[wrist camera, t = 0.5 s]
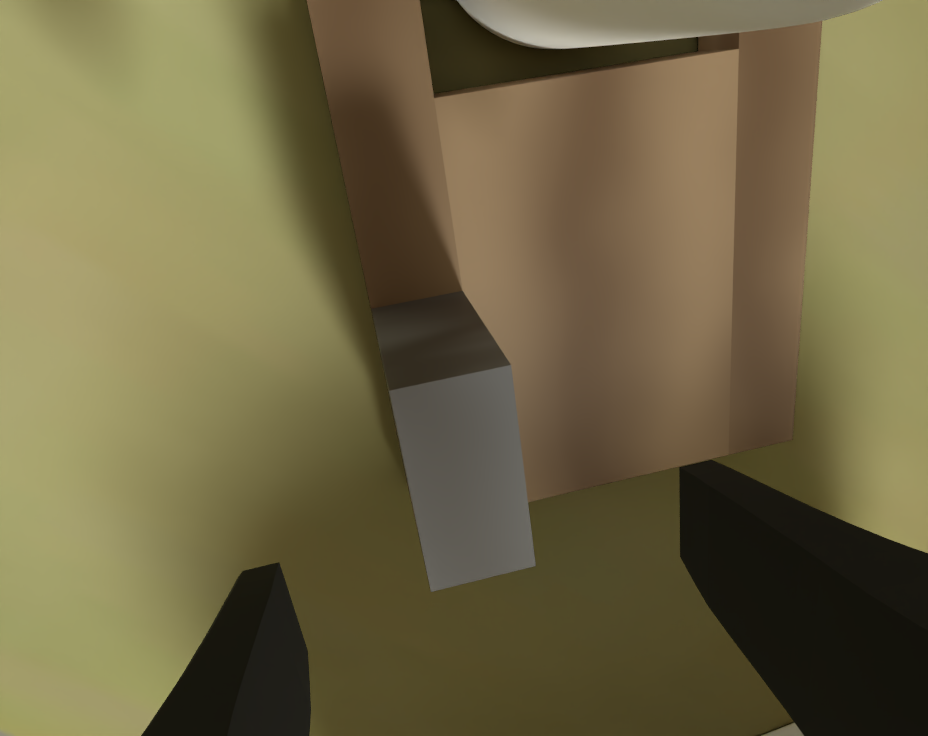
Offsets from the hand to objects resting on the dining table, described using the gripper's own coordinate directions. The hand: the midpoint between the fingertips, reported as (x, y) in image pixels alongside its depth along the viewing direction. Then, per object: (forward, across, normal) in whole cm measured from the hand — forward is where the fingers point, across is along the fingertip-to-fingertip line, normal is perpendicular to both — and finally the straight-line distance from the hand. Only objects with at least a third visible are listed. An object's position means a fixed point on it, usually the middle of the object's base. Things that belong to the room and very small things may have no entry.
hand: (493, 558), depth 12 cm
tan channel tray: (+9, -5, -6) cm, 12 cm away
